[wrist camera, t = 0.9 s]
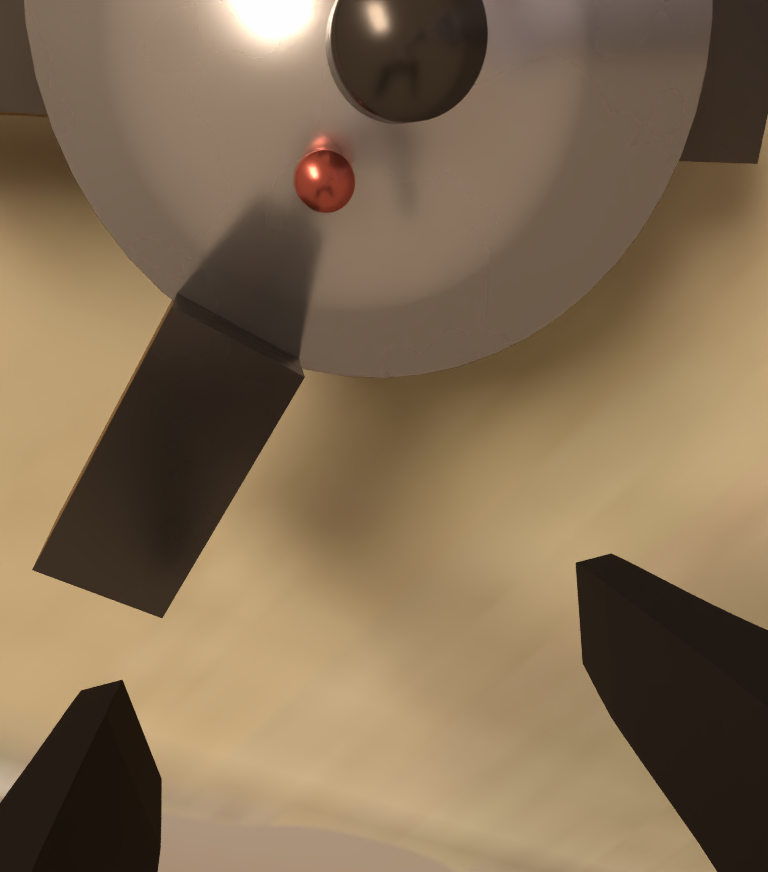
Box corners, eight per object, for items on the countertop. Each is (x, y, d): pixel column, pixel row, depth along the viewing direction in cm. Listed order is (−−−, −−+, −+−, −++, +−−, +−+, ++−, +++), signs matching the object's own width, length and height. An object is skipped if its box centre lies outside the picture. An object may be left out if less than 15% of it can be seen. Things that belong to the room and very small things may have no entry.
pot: (709, -168, 17) (858, -267, 13) (632, 306, 21) (728, 344, 17) (-248, -298, 13) (-460, -494, 9) (-117, 307, 17) (-225, 356, 13)
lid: (253, -629, 10) (257, -808, 8) (804, -48, 14) (892, -78, 12) (-188, 420, 13) (-255, 463, 12) (348, 635, 17) (362, 692, 16)
